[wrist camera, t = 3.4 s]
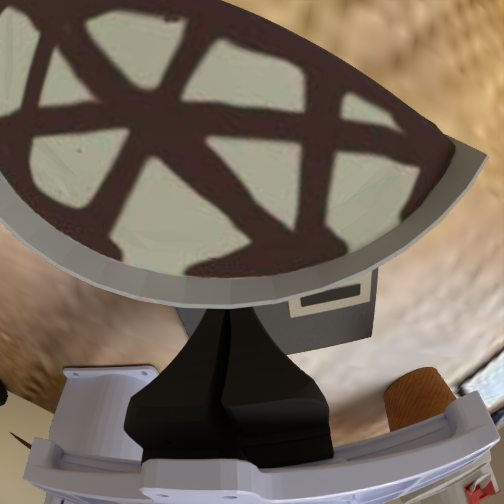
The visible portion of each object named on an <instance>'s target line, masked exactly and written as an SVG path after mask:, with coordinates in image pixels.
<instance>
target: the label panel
mask: <svg viewBox="0 0 504 504" xmlns="http://www.w3.org/2000/svg"><path fill="white" fill-rule="evenodd" d="M377 278H378V267H377V268H376V269H374V270H372V271H371V272H369V273H367V274H365V275H362V276H360V277H358V278H355V279H353V280H350V281H348V282H346V283H343V284H341V285H338V286H336V287H333V288H331V289H329V290H326V291H323V292H320V293H316V294H312V295H308V296H305V297H301V298H297V299H293V300H289V301H285V302H281V303H276V304H268V305H260V306H253V308H254V310H255V312H256V314H257V316H258V318H259V320H260V322H261V323H262V325H263V326H264V328H265V330H266V331H267V332H268V334H269V335H270V337H271V338H272V339H273V341H274V342H275V343H276V344H277V346H278V347H279V348H280V349H281V350H282V351H283V352H284V353H285V354H286V355H289V354H295V353H300V352H306V351H311V350H316V349H321V348H325V347H330V346H335V345H339V344H344V343H348V342H352V341H357V340H361V339H365V338H369V337H371V336H372V328H373V320H374V311H375V301H376V291H377ZM176 309H177V311H178V313H179V316H180V318H181V320H182V322H183V325H184V327H185V329H186V331H187V333H188V336H189V338H190V337H191V336H192V334H193V332H194V331H195V329H196V328H197V326H198V324H199V323H200V321H201V319H202V317H203V315H204V313H205V311H206V309H207V308H181V307H176Z"/></svg>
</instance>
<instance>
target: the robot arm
mask: <svg viewBox="0 0 504 504" xmlns="http://www.w3.org/2000/svg"><path fill="white" fill-rule="evenodd" d="M63 373H64V375H65V376H66V377H67V378H68V379H67V381H66V384H65V386H64V389H63V392H62V395H61V397H60V400H59V403H58V406H57V409H56V411H55V414H54V417H53V420H52V423H51V427H50V431H49V440H46V439H42V438H38V437H35V438H34V441H33V444H32V447H31V451H30V454H29V457H28V461H27V465H26V468H25V472H24V476H23V479H24V480H25V481H27V482H28V483H30V484H32V485H34V486H35V487H37V488H39V489H41V490H43V491H44V492H46V498H45V503H44V504H382V503H385V502H387V501H390V500H393V499H396V498H398V497H401V496H403V495H406V494H408V493H411V492H413V491H416V490H418V489H420V488H423V487H425V486H427V485H429V484H432V483H434V482H436V481H438V480H440V479H442V478H444V477H447V476H449V475H451V474H453V473H455V472H457V471H459V470H461V469H463V468H465V467H466V466H468V465H470V464H472V463H474V462H475V461H476V460H478V459H479V458H480V457H481V456H482V455H483V454H485V453H486V452H487V451H488V450H489V449H490V448H492V447H493V446H494V445H495V444H496V443H497V442H498V441H499V440H500V436H499V434H498V431H497V429H496V427H495V425H494V423H493V421H492V418H491V416H490V414H489V412H488V410H487V408H486V406H485V404H484V402H483V400H482V398H481V396H480V394H479V392H478V391H473V392H471V393H469V394H467V395H465V396H463V397H461V398H458V399H456V400H454V401H453V402H451V403H450V404H449V405H448V406H447V408H446V410H445V412H444V413H442V414H439V415H437V416H434V417H432V418H429V419H427V420H424V421H421V422H419V423H416V424H413V425H410V426H408V427H405V428H402V429H399V430H396V431H393V432H390V433H386V434H383V435H380V436H376V437H373V438H369V439H366V440H362V441H358V442H354V443H350V444H346V445H342V446H338V447H333V446H332V440H331V436H330V434H331V432H330V427H329V406H328V404H327V401H326V399H325V397H324V395H323V393H322V392H321V390H320V389H319V387H318V386H317V384H316V383H315V381H314V380H313V379H312V378H311V377H310V376H309V375H307V374H306V373H305V372H304V371H302V370H301V369H300V368H299V367H298V366H297V365H296V364H294V363H293V362H292V361H291V360H290V359H289V358H288V357H287V355H286V354H285V353H284V352H283V351H282V350H281V349H280V348H279V347H278V346H277V344H276V343H275V342H274V341H273V339H272V338H271V337H270V335H269V334H268V332H267V331H266V330H265V328H264V326H263V325H262V323H261V322H260V320H259V318H258V316H257V314H256V312H255V310H254V308H253V306H251V307H242V308H233V309H211V308H207V309H206V311H205V313H204V315H203V317H202V319H201V321H200V323H199V324H198V326H197V328H196V329H195V331H194V332H193V334H192V336H191V337H190V339H189V340H188V342H187V343H186V344H185V346H184V347H183V348H182V350H181V351H180V352H179V354H178V355H177V356H176V357H175V358H174V359H173V361H172V362H171V363H170V364H169V365H168V366H167V367H166V368H165V369H164V370H163V371H162V372H161V373H160V374H159V373H158V371H157V370H156V368H155V367H153V366H133V367H108V368H64V370H63Z"/></svg>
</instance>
